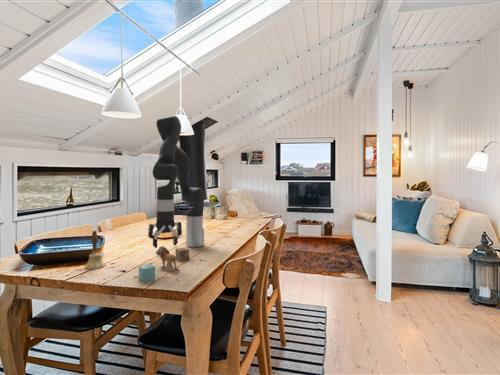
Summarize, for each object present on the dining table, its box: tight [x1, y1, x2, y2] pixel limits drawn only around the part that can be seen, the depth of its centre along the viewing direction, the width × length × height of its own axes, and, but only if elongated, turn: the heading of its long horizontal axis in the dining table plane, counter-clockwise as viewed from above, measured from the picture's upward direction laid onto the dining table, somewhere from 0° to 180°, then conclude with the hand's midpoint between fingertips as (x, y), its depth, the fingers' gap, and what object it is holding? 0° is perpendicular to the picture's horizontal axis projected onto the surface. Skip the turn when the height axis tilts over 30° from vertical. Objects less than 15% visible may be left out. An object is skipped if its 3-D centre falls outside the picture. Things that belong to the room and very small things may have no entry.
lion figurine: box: [155, 245, 180, 273], centre depth 137 cm, size 15×5×9 cm, turn 50°
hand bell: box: [84, 230, 106, 270], centre depth 139 cm, size 8×8×16 cm
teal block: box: [138, 263, 156, 282], centre depth 124 cm, size 5×5×5 cm
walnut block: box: [175, 247, 190, 262], centre depth 151 cm, size 5×5×5 cm
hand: (165, 246), depth 137 cm, fingers open, 8 cm apart
